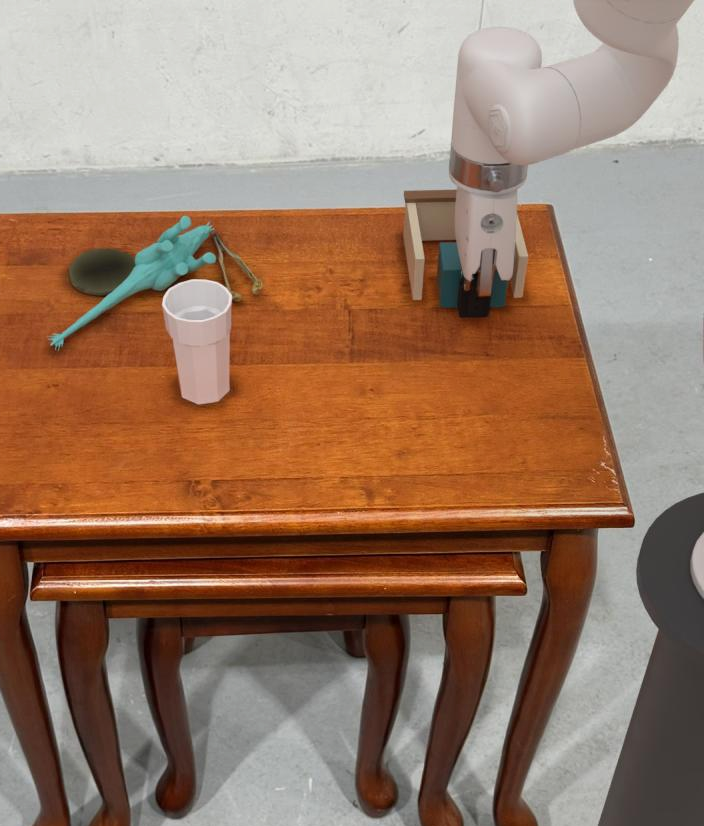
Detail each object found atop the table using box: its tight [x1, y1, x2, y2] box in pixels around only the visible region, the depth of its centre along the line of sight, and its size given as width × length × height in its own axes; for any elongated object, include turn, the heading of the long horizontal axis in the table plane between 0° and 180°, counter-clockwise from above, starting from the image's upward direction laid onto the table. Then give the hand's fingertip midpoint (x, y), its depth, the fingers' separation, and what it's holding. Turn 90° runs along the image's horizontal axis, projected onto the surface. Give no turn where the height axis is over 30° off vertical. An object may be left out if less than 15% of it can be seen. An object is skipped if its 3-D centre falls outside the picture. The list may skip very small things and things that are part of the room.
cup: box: [161, 278, 233, 406], centre depth 126 cm, size 7×7×11 cm
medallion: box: [68, 247, 136, 296], centre depth 143 cm, size 8×8×1 cm
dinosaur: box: [46, 215, 217, 351], centre depth 138 cm, size 6×25×8 cm
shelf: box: [402, 189, 529, 301], centre depth 142 cm, size 12×12×6 cm
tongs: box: [210, 231, 264, 303], centre depth 143 cm, size 4×13×2 cm, turn 25°
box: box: [435, 242, 509, 309], centre depth 139 cm, size 5×7×5 cm
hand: (472, 312), depth 136 cm, fingers closed
